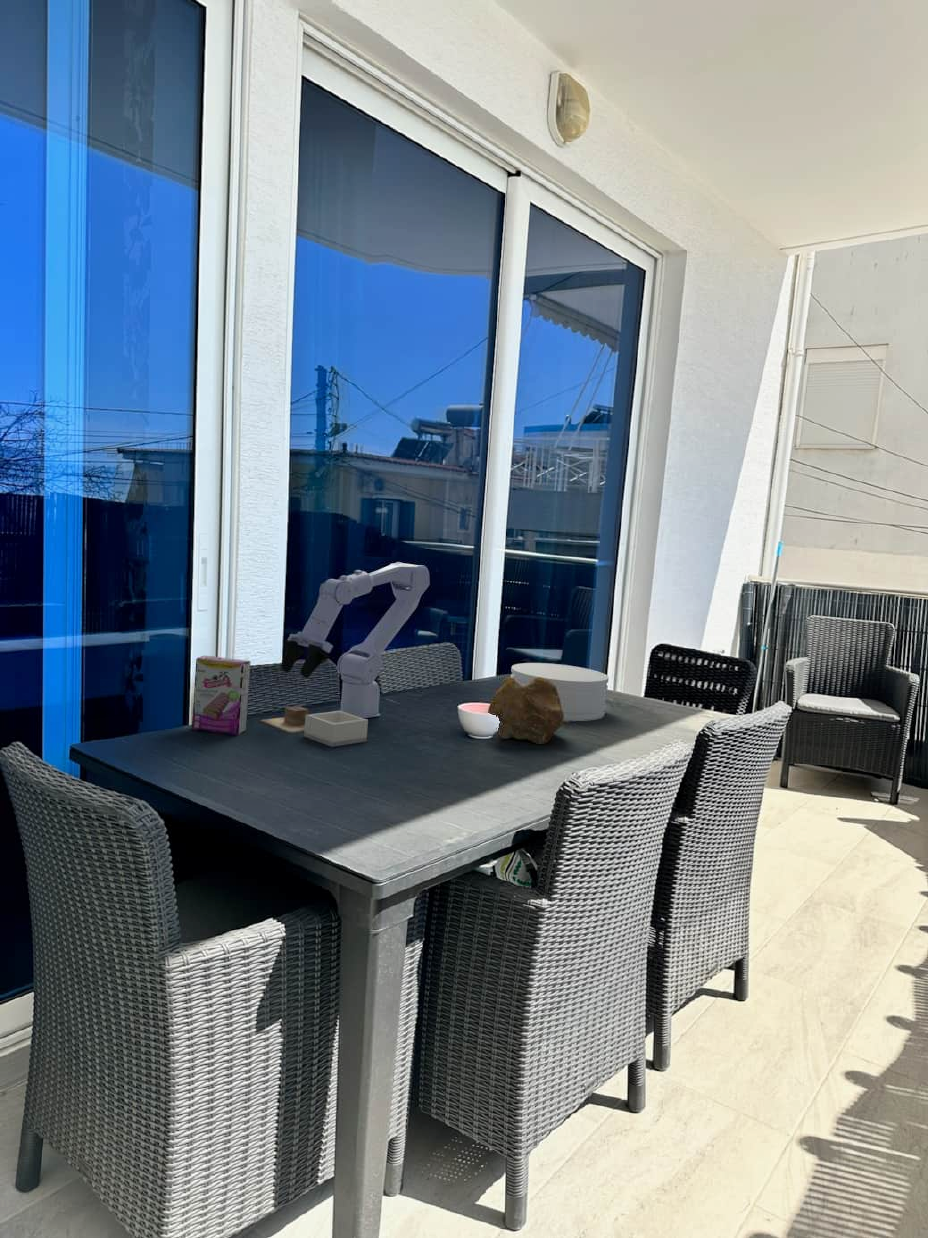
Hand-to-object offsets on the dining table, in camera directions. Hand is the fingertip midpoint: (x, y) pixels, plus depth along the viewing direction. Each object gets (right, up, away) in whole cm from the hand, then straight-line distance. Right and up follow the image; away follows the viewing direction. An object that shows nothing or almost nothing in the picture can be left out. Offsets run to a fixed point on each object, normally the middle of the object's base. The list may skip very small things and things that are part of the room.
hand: (293, 673), depth 208 cm
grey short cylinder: (+67, -14, +47) cm, 83 cm away
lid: (0, -13, +2) cm, 13 cm away
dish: (+11, -14, -8) cm, 20 cm away
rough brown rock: (+57, -17, +10) cm, 60 cm away
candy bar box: (-15, -12, -10) cm, 22 cm away
